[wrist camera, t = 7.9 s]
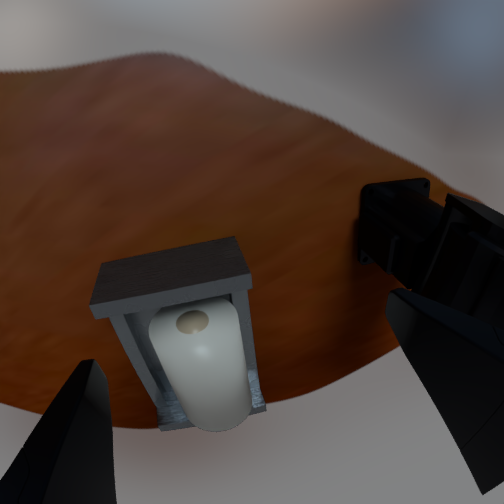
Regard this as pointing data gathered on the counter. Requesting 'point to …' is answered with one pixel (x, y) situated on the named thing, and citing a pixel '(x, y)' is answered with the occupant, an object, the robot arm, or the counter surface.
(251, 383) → the cradle holder
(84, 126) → the counter surface
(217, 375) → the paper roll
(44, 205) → the counter surface
